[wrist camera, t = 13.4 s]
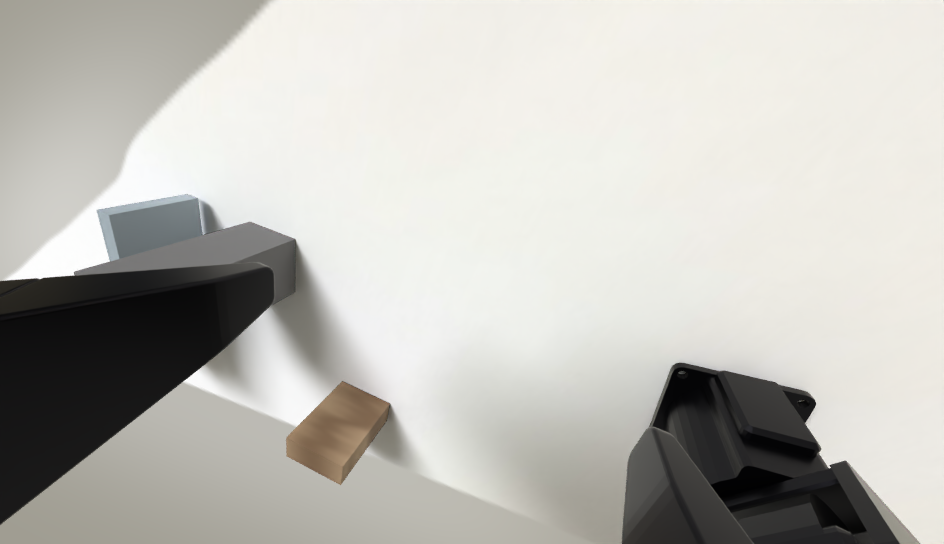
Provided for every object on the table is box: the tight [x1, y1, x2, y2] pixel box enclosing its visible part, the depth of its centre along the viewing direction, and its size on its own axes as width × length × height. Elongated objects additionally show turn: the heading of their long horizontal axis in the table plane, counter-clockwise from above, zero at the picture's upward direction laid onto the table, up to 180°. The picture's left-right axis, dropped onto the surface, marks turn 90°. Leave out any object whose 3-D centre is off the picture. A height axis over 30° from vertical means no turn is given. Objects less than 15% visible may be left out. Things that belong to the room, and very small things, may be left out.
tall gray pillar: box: [74, 222, 295, 305], centre depth 22 cm, size 4×4×10 cm
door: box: [97, 194, 202, 261], centre depth 27 cm, size 14×3×6 cm, turn 166°
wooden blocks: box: [286, 381, 390, 485], centre depth 29 cm, size 23×2×6 cm, turn 76°
